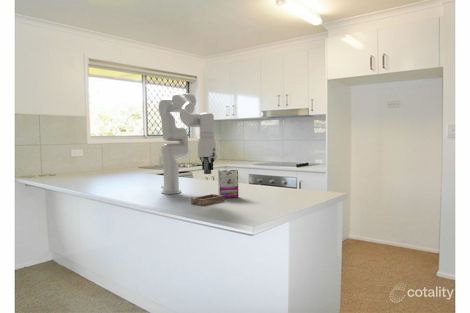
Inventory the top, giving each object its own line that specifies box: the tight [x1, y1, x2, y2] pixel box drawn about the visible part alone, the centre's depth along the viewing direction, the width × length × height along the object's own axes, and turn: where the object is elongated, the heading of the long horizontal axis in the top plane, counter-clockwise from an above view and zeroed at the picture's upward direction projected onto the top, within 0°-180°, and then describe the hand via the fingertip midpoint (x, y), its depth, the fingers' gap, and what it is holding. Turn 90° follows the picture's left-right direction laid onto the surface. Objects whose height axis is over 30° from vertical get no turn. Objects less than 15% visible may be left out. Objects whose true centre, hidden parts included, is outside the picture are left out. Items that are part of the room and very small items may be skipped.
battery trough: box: [190, 193, 225, 207], centre depth 187 cm, size 9×16×3 cm, turn 140°
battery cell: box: [203, 157, 212, 175], centre depth 186 cm, size 4×4×10 cm
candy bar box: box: [217, 168, 239, 199], centre depth 201 cm, size 11×5×16 cm, turn 105°
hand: (207, 169), depth 186 cm, fingers closed on battery cell, 4 cm apart
